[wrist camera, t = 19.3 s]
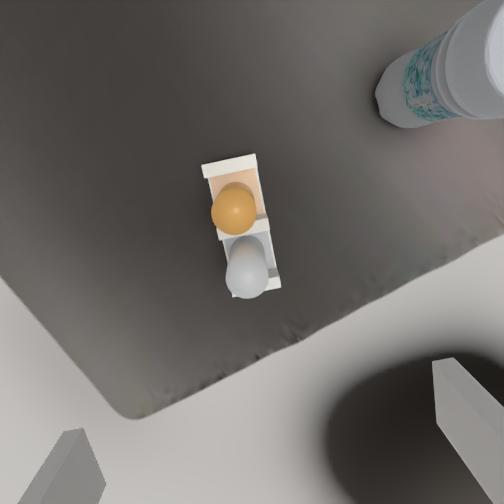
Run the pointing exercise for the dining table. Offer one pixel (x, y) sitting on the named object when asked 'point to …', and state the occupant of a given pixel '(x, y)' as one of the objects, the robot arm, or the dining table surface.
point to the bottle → (449, 74)
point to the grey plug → (247, 268)
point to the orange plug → (234, 209)
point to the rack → (247, 173)
